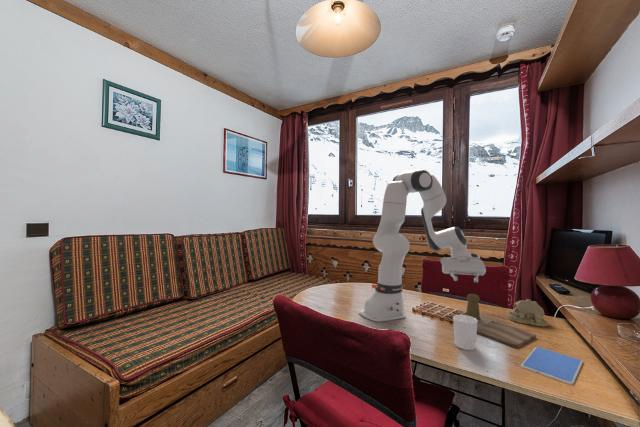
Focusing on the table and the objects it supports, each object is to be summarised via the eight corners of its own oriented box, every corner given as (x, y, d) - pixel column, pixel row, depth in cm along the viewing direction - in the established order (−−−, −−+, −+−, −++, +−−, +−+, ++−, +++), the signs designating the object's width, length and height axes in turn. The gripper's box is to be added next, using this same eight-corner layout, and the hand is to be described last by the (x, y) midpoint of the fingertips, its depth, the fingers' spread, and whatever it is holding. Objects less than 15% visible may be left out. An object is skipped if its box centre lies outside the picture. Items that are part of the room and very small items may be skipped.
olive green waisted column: (479, 316, 131) (479, 293, 130) (481, 321, 125) (482, 297, 125) (464, 315, 133) (464, 292, 132) (466, 319, 127) (467, 295, 127)
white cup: (476, 353, 97) (476, 324, 97) (451, 347, 101) (452, 319, 101) (477, 344, 103) (478, 317, 103) (454, 338, 108) (454, 313, 108)
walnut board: (516, 348, 100) (516, 345, 100) (472, 331, 114) (472, 329, 114) (535, 337, 109) (535, 334, 109) (492, 323, 123) (492, 320, 123)
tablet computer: (572, 387, 79) (572, 383, 79) (519, 368, 89) (520, 364, 89) (583, 363, 92) (583, 359, 92) (535, 349, 101) (535, 345, 101)
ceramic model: (539, 318, 129) (539, 296, 129) (552, 328, 118) (553, 304, 118) (505, 315, 133) (505, 294, 133) (514, 324, 122) (515, 301, 122)
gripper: (440, 253, 148) (445, 276, 139) (483, 255, 144) (490, 278, 134) (438, 260, 152) (442, 283, 143) (479, 262, 148) (486, 285, 139)
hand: (466, 280), depth 139 cm, fingers open, 8 cm apart
